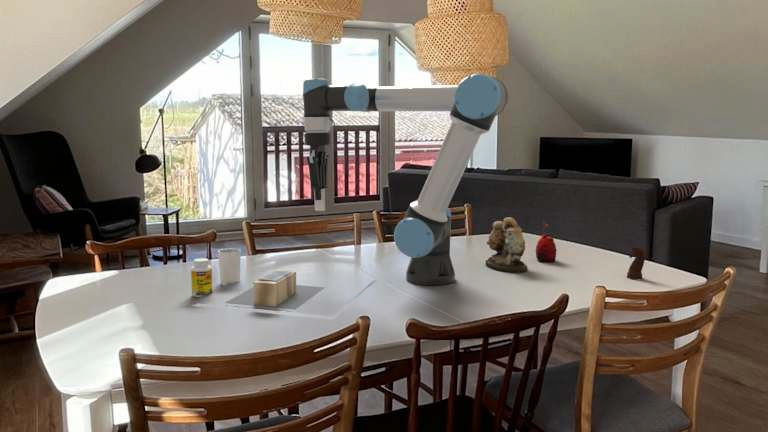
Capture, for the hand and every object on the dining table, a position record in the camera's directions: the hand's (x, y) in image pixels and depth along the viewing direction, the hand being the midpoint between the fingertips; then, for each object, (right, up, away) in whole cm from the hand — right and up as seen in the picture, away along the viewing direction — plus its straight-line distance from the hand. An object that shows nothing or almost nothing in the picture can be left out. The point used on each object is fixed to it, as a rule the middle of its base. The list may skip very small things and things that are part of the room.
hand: (319, 210), depth 192 cm
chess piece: (+99, -22, +9) cm, 102 cm away
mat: (-10, -24, -16) cm, 31 cm away
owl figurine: (+60, -19, +23) cm, 67 cm away
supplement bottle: (-32, -24, -14) cm, 42 cm away
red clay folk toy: (+77, -18, +33) cm, 85 cm away
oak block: (-8, -20, -13) cm, 25 cm away
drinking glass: (-27, -22, -1) cm, 35 cm away
